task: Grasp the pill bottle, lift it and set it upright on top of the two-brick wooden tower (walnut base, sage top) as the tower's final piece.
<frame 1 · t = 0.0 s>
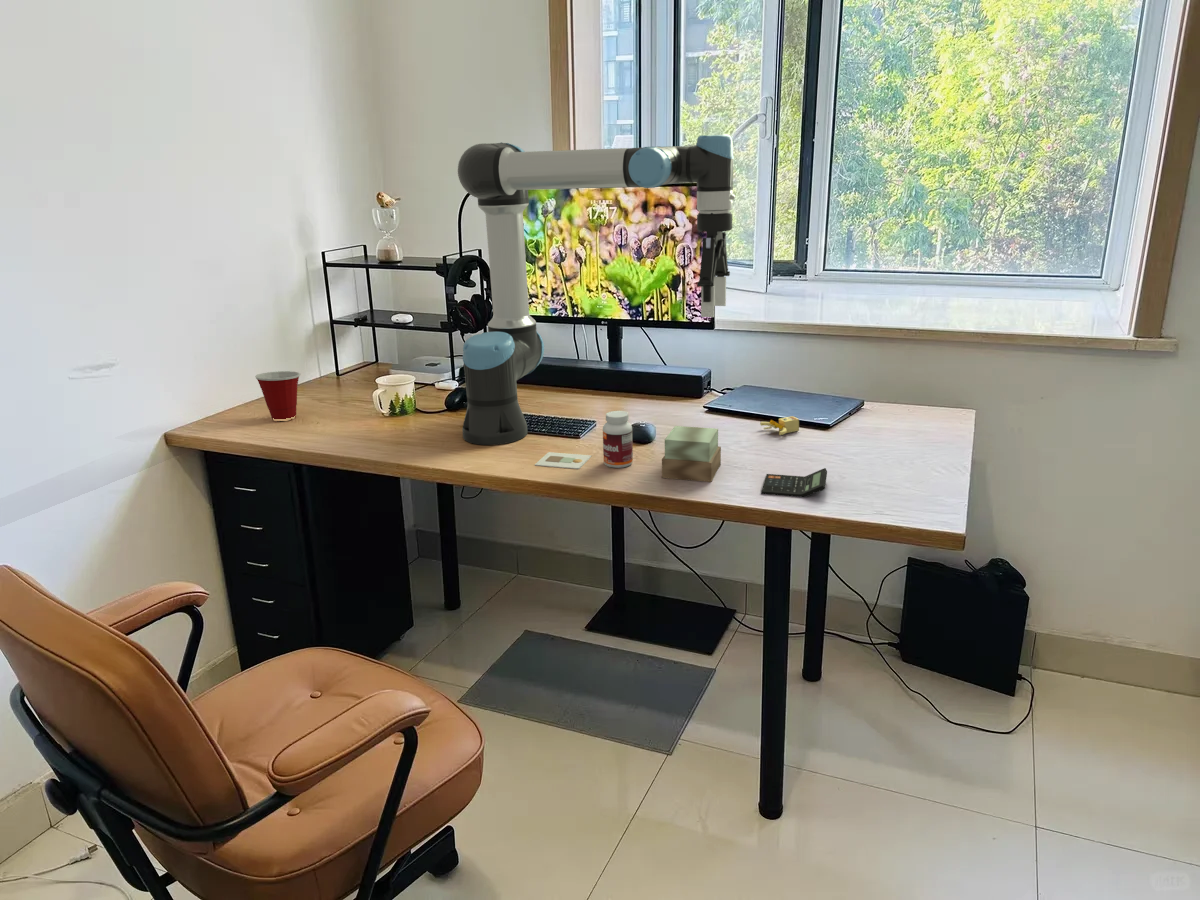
hand: (713, 311, 189), 28 cm above the table, fingers open, 13 cm apart
instruction page: (563, 460, 183), on the table
pill bottle: (618, 464, 180), on the table
tower: (691, 471, 174), on the table
character toy: (775, 434, 197), on the table
calculator: (794, 489, 165), on the table
plastic cup: (285, 419, 221), on the table
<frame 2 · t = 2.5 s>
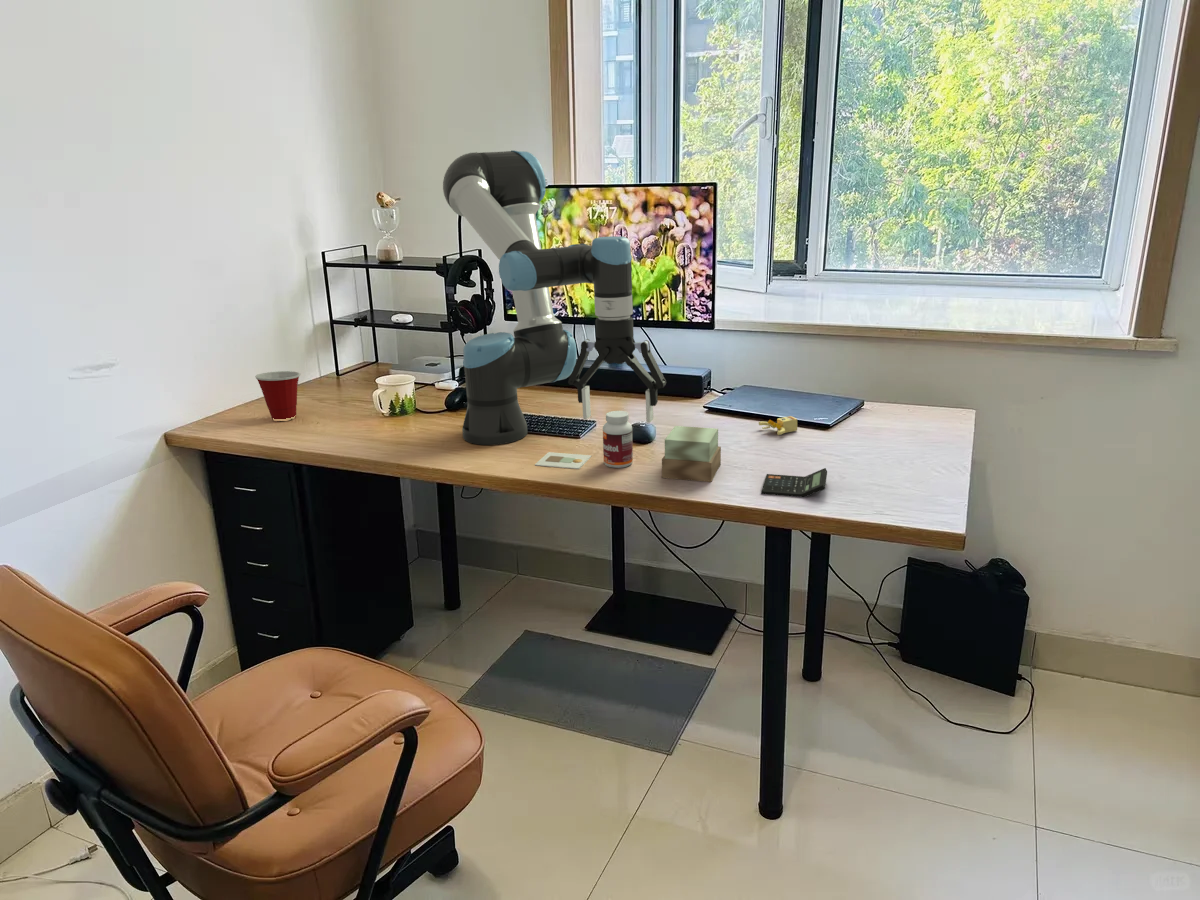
hand: (618, 419, 177), 10 cm above the table, fingers open, 13 cm apart
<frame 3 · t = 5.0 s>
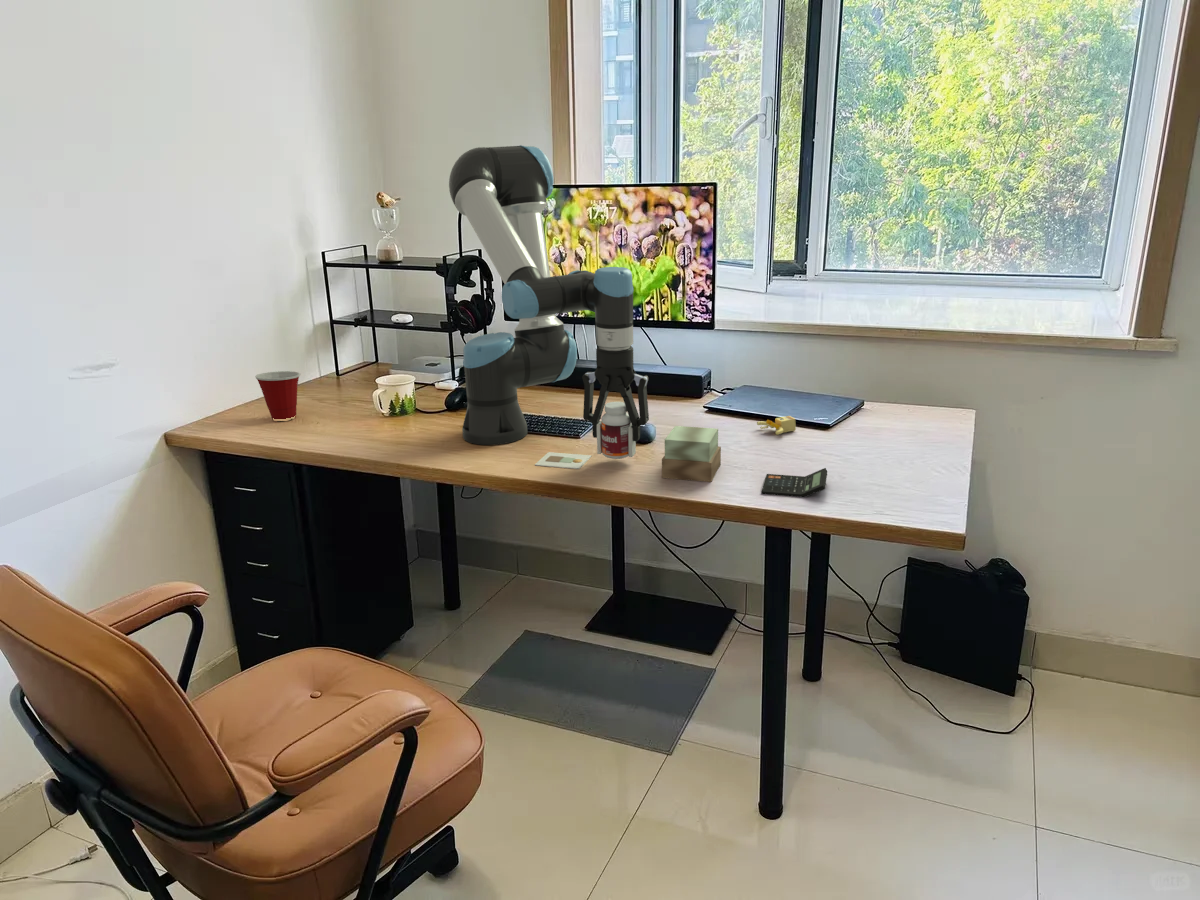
hand: (616, 453, 180), 2 cm above the table, fingers closed on pill bottle, 6 cm apart
pill bottle: (616, 455, 180), point 2 cm above the table, touching gripper
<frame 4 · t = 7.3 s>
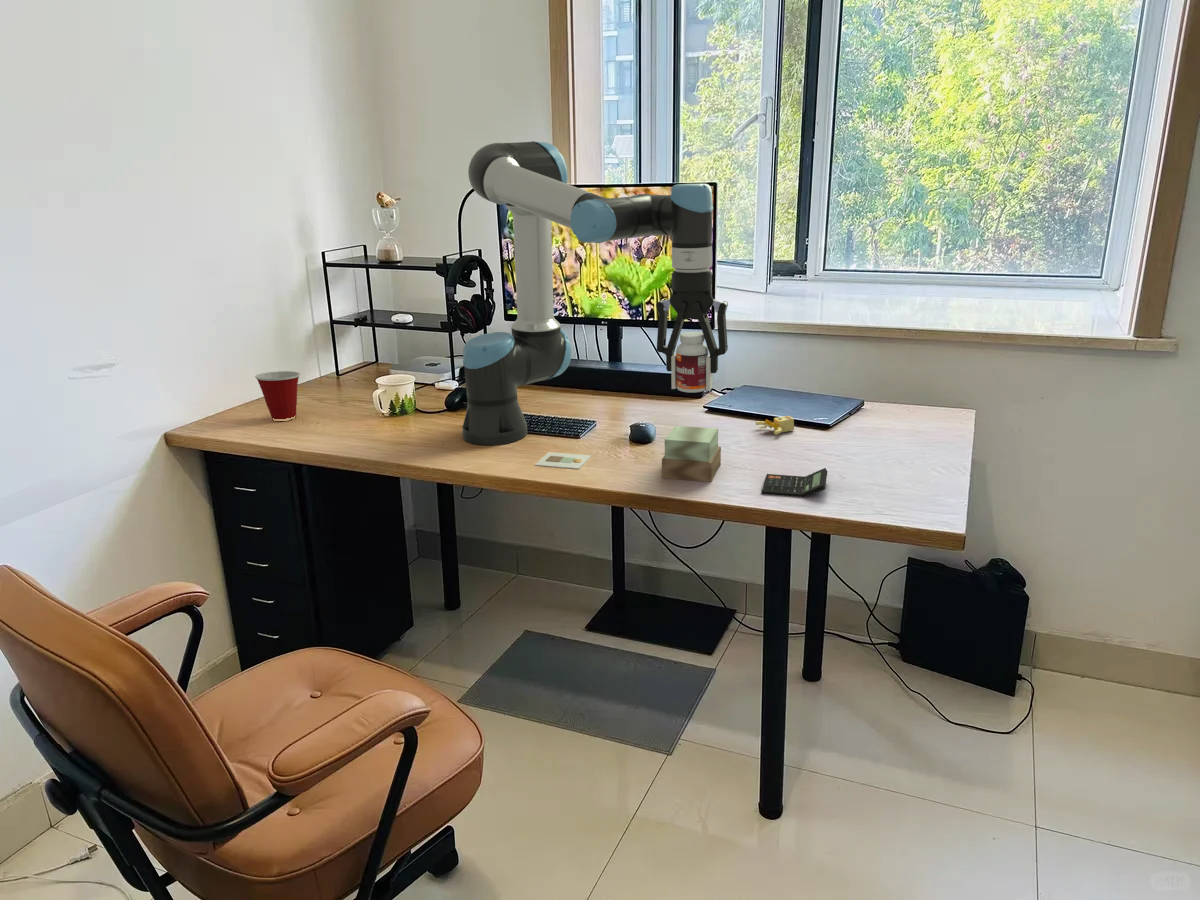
hand: (692, 387, 169), 18 cm above the table, fingers closed on pill bottle, 6 cm apart
pill bottle: (692, 390, 169), point 17 cm above the table, touching gripper
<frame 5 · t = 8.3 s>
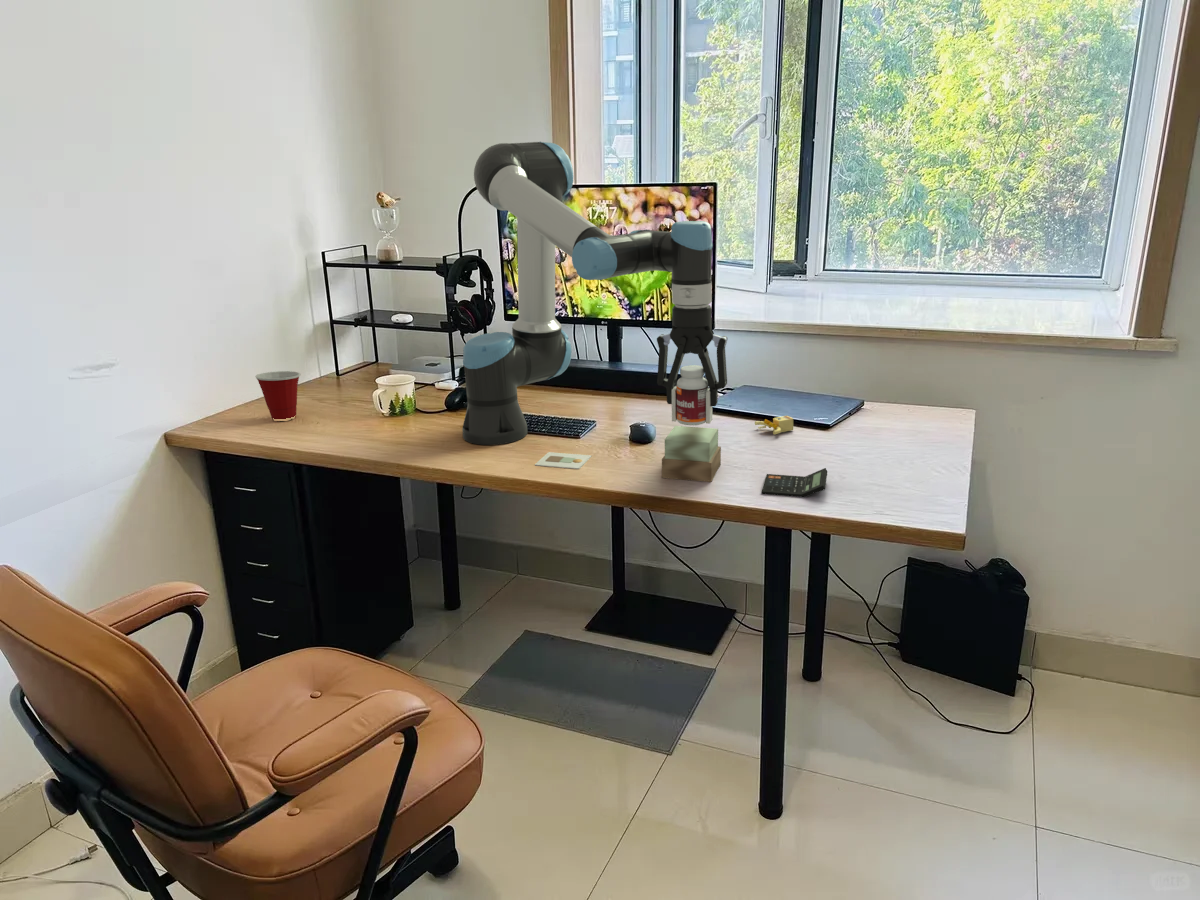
hand: (692, 420, 171), 11 cm above the table, fingers closed on pill bottle, 6 cm apart
pill bottle: (692, 422, 171), point 10 cm above the table, touching gripper
when the fingers open (9 cm above the table, at t = 9.4 s): pill bottle drops 1 cm, resting on tower.
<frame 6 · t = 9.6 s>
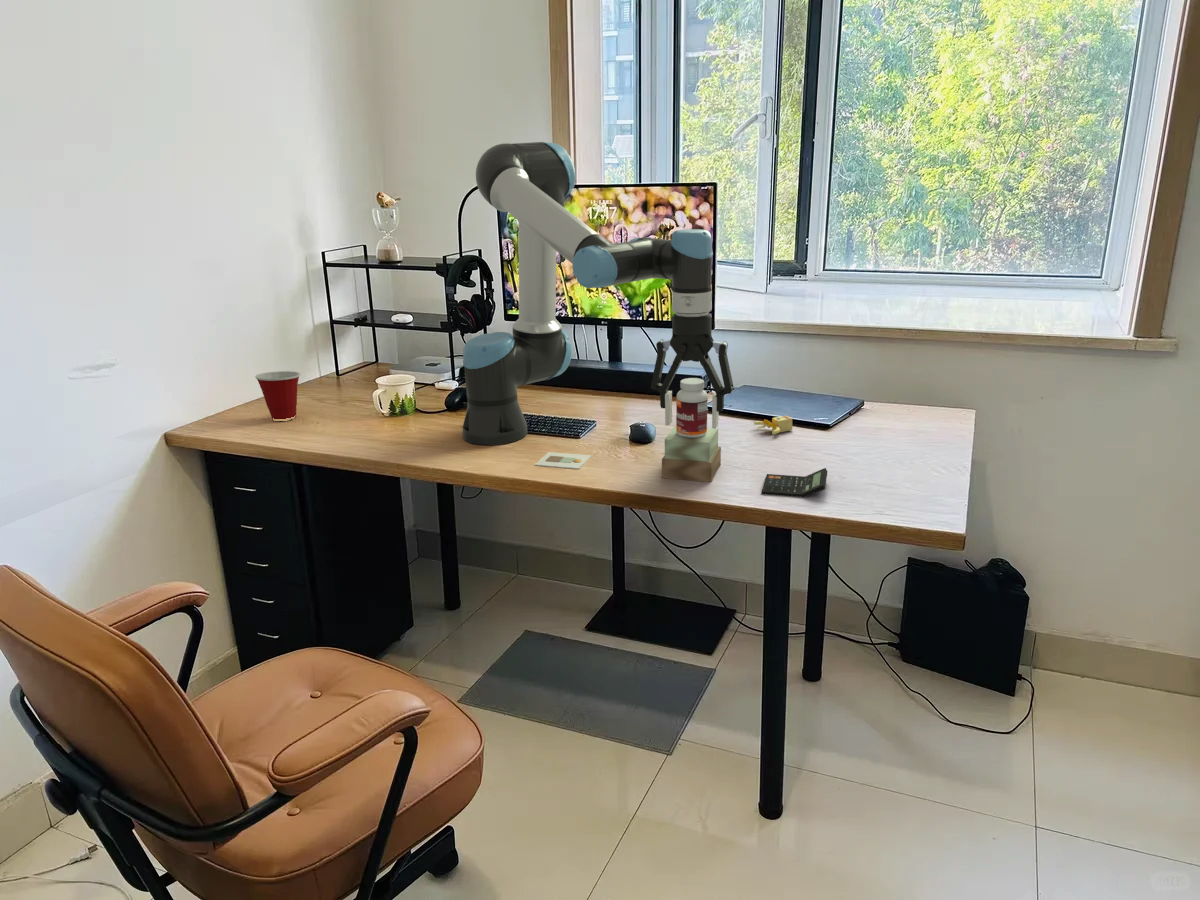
hand: (691, 425, 171), 10 cm above the table, fingers open, 9 cm apart
pill bottle: (691, 434, 172), point 8 cm above the table, touching tower
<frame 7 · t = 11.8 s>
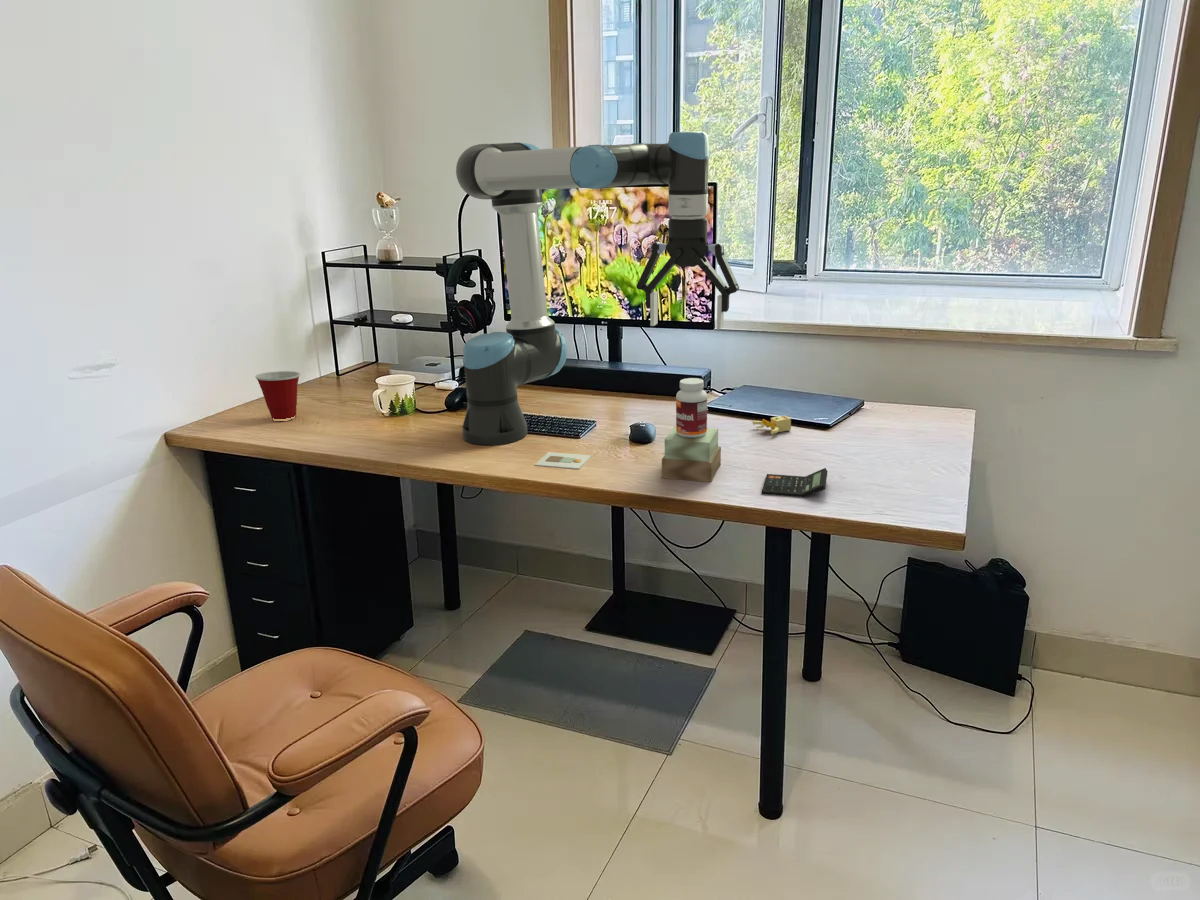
hand: (686, 326, 171), 29 cm above the table, fingers open, 13 cm apart
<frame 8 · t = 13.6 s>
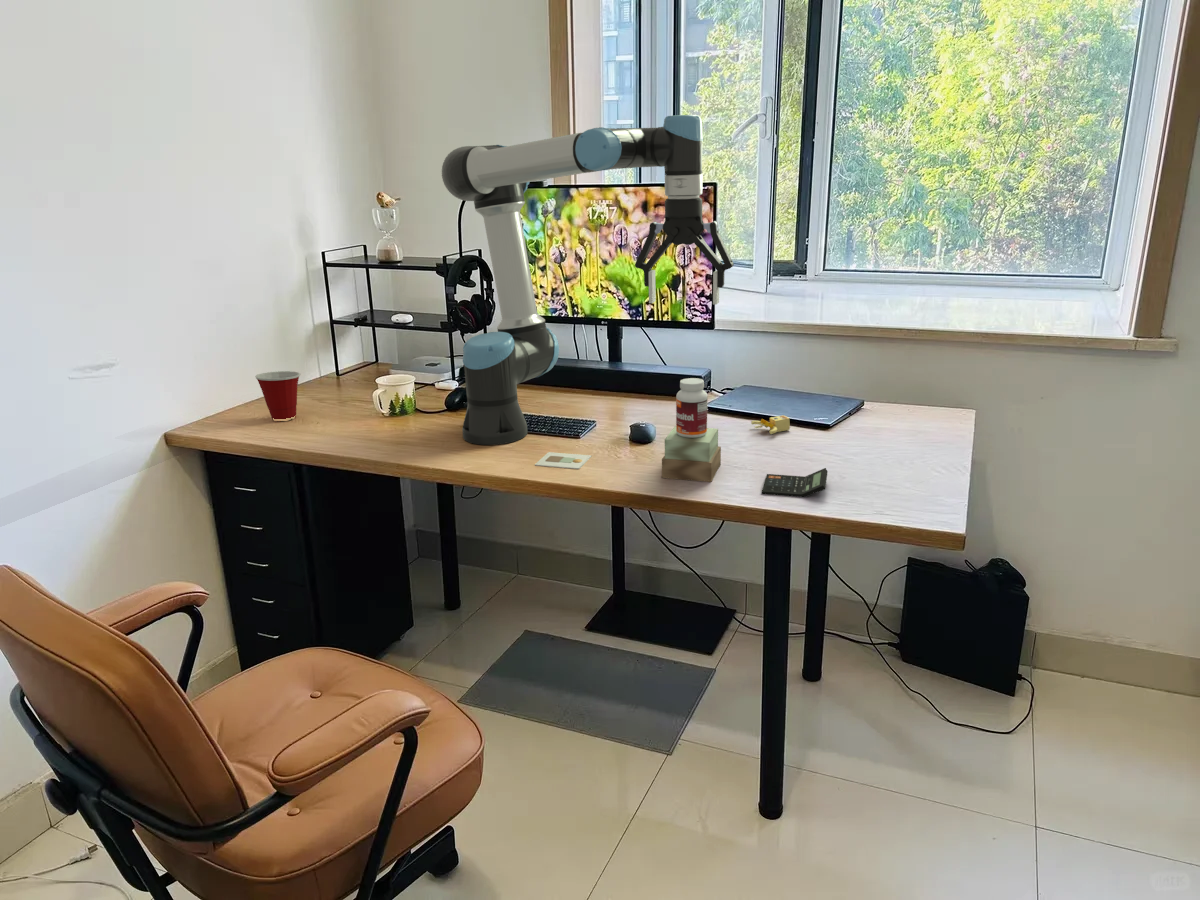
hand: (683, 302, 179), 32 cm above the table, fingers open, 13 cm apart
at the end: pill bottle inside the target area on the tower (0.1 cm from its centre), point 7.8 cm above the tower's base; pill bottle tilted 0°; the gripper is holding nothing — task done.
